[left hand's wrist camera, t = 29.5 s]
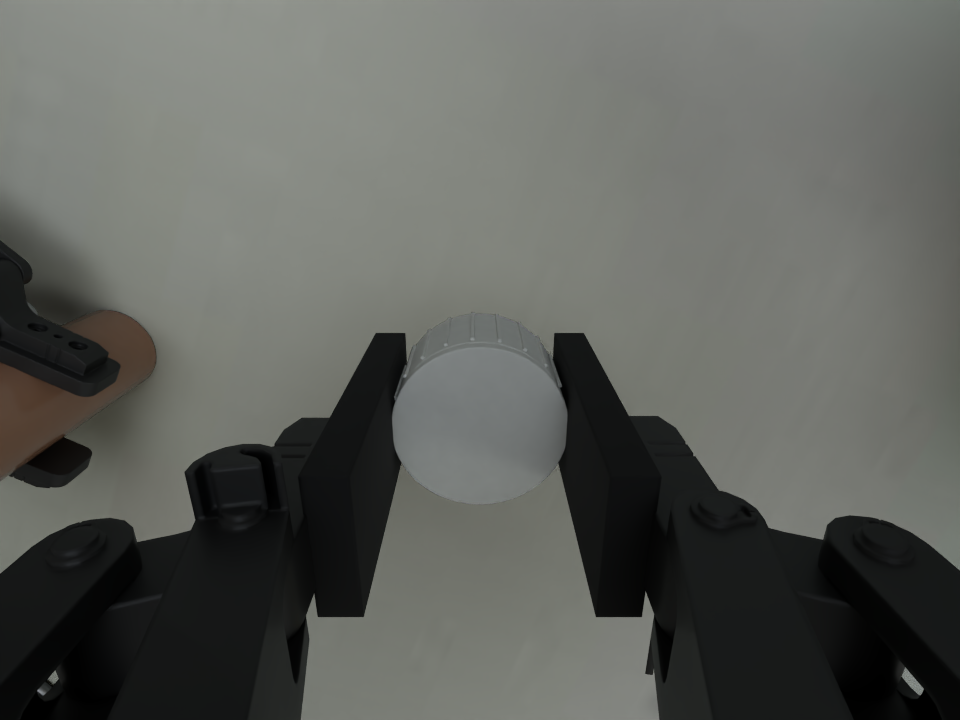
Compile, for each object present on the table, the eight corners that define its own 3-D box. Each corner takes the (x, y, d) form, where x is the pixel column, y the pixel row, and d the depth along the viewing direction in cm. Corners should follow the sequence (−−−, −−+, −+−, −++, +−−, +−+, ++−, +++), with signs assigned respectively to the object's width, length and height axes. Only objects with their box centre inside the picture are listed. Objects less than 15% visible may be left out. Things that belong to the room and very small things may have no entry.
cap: (491, 476, 15) (493, 535, 13) (372, 395, 15) (352, 444, 12) (587, 372, 14) (609, 417, 12) (465, 278, 13) (462, 307, 11)
